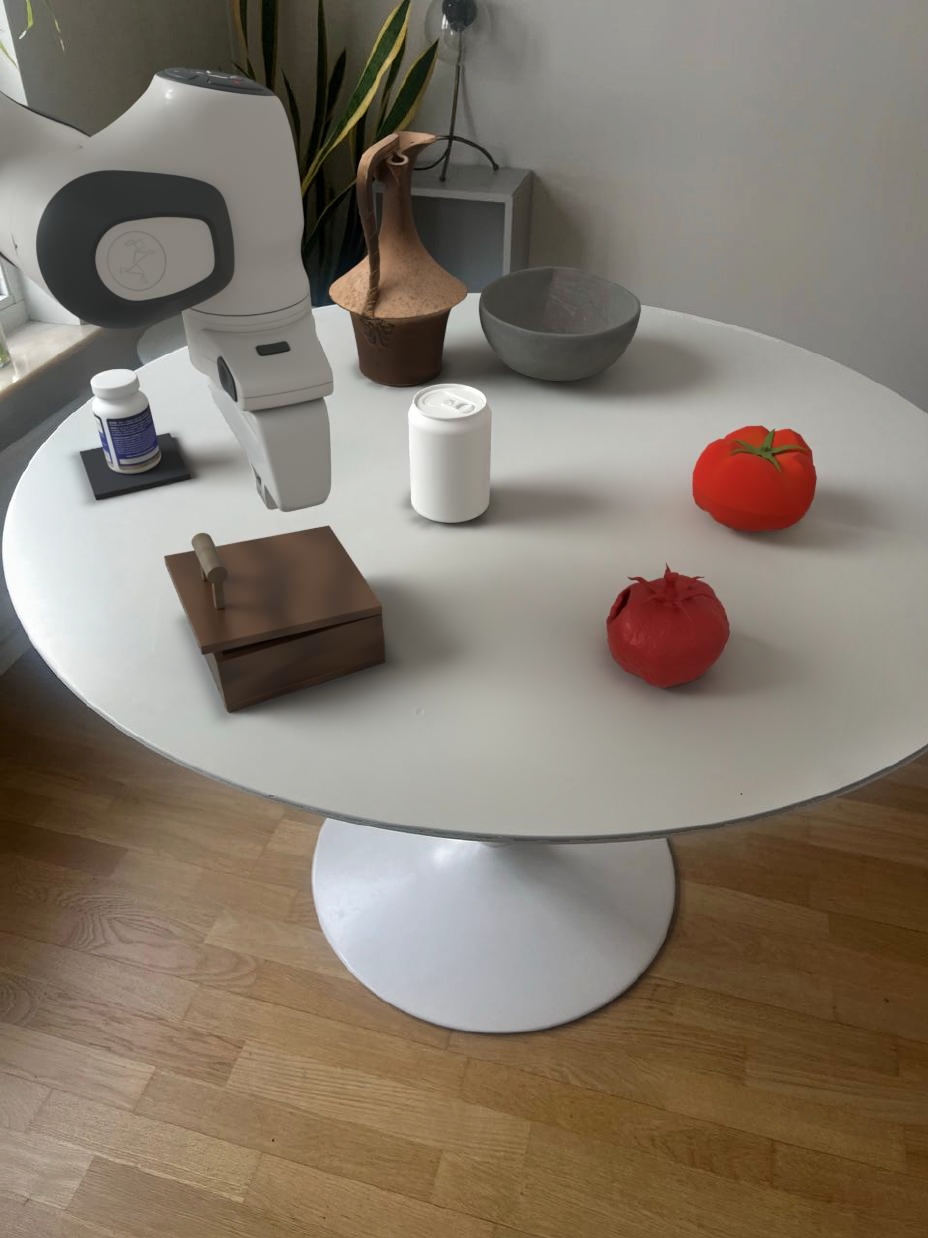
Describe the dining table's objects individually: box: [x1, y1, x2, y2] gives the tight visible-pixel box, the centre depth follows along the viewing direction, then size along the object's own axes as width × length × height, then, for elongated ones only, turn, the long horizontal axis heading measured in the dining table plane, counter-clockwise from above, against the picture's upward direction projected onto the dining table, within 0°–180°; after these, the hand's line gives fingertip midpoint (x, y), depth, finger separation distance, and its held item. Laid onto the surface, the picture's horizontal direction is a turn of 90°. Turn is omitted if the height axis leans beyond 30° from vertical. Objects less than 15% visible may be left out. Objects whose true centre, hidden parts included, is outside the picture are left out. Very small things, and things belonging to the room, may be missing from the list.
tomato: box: [691, 425, 818, 532], centre depth 93 cm, size 13×12×8 cm
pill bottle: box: [90, 368, 161, 474], centre depth 99 cm, size 6×6×10 cm
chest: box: [203, 613, 386, 713], centre depth 79 cm, size 14×13×5 cm
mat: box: [79, 432, 192, 501], centre depth 102 cm, size 10×10×1 cm
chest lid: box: [163, 525, 383, 656], centre depth 75 cm, size 14×13×5 cm
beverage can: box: [407, 383, 493, 524], centre depth 93 cm, size 8×8×12 cm
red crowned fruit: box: [605, 562, 731, 688], centre depth 76 cm, size 10×10×9 cm
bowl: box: [478, 266, 642, 382], centre depth 118 cm, size 20×20×10 cm
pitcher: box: [328, 130, 469, 386], centre depth 113 cm, size 18×17×28 cm
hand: (272, 499), depth 74 cm, fingers closed
